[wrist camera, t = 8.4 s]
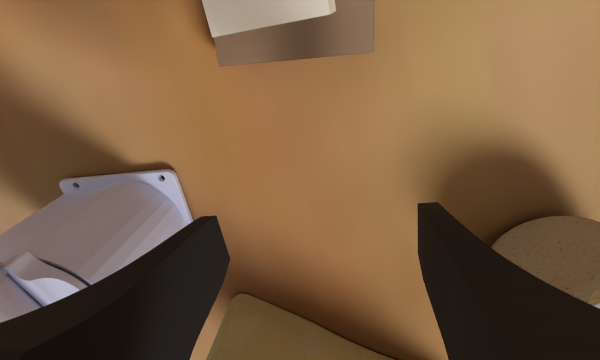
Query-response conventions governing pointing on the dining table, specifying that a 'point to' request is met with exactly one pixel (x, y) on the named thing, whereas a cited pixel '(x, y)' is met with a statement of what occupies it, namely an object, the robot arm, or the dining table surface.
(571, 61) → the dining table surface
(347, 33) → the walnut base
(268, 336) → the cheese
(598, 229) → the ceramic mug
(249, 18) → the cream cube
